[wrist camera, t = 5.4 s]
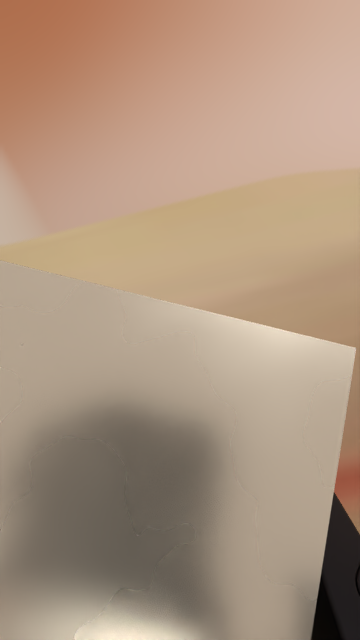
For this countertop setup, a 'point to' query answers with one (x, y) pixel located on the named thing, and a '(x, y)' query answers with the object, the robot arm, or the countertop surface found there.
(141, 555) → the cream tea tin
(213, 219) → the countertop surface
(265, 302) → the countertop surface
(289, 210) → the countertop surface
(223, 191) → the countertop surface
